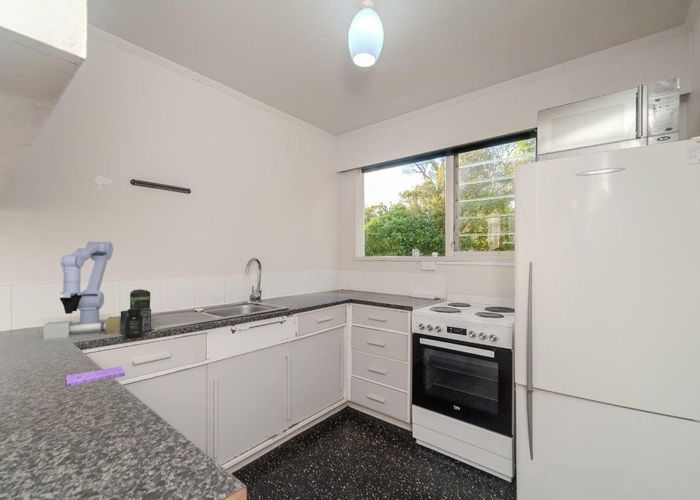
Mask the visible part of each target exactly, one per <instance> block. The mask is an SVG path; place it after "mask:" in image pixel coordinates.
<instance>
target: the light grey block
mask: <svg viewBox="0 0 700 500" xmlns="http://www.w3.org/2000/svg"><path fill="white" fill-rule="evenodd" d="M73 322H74V321H73V320H62V321H49V322H47V323H45V324H44V325H43V338H42V339H43V340H44V341H47V340H56V339H65V338H67V339H68V338H70V337H72V335H73V333H69V325H74V324H73Z"/></svg>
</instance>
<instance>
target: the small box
mask: <svg viewBox="0 0 700 500" xmlns="http://www.w3.org/2000/svg"><path fill="white" fill-rule="evenodd" d="M141 314H142V315H143V316H144V332H143V334H144V333H150V332H152V308H150V309H147V308H144V309H141ZM127 315H128V309H127V310H121V311H120V316H121V331H120V335H122V336H124V331H125V317H126V316H127Z"/></svg>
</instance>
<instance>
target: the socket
mask: <svg viewBox="0 0 700 500" xmlns="http://www.w3.org/2000/svg"><path fill="white" fill-rule="evenodd" d="M105 323H106V330H105V335H109V334H110V335H111V334H112V335H113V334H121V315H119V316H109V317H107V318H106V319H105Z"/></svg>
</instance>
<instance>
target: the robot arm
mask: <svg viewBox="0 0 700 500" xmlns="http://www.w3.org/2000/svg"><path fill="white" fill-rule="evenodd" d="M113 252H114V246H113V243H112V242H110V241H88V242H87V243H86V247H84V248H77V250H75V251H74V252H72V253H71V254H66V255H63V256H62V257H61V259H60V267H61V270H62V272H63V286H62V287H63V288H62V289H63V291H60V292H59V294H61V295H63V296H64V297H60V298H59V300H60V302H61V303H62V305H63V309H64V313H65V315H70V314H71V315H72V314H73V312H77V311H79V314H80V315H79V325H81V324H94V323H100V309H101V308H102V307H103V306H104V304H105V303H104V302H105V294H104V293H103V292H102V291H101V290H100V289H101V285H102V282H103V278H104V274H105V271H106V267H107V264H108V261H110V260H111V258H112V255H113ZM89 259H91V260H93V261H94V264H93V268H92V269H91V274H90V277H89V279H88V280H89V281H88V285H87V287H86V289H84V290H83V291H81V276H82V275H81V273H82V272H81V270H82V268H83V266H84V264H85V262H86V261H87V260H89Z"/></svg>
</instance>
